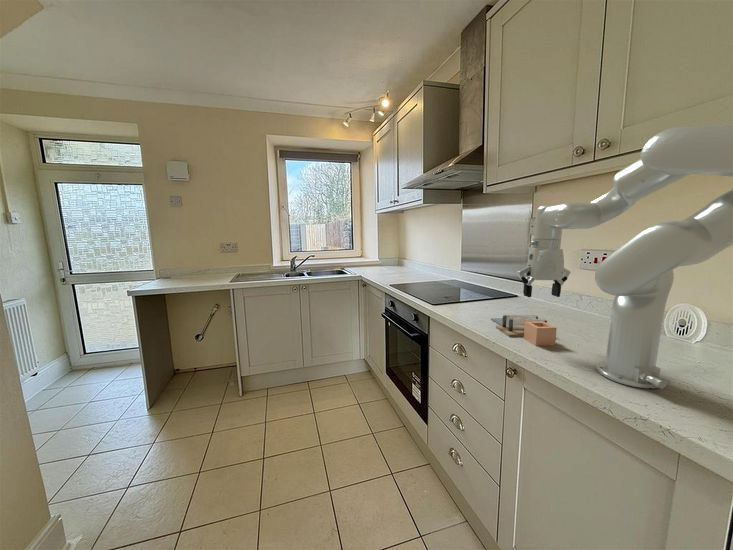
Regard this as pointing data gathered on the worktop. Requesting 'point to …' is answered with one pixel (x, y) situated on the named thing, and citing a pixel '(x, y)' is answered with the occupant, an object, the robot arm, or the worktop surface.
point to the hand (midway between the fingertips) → (541, 296)
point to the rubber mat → (499, 321)
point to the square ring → (540, 333)
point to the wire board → (517, 330)
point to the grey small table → (519, 320)
